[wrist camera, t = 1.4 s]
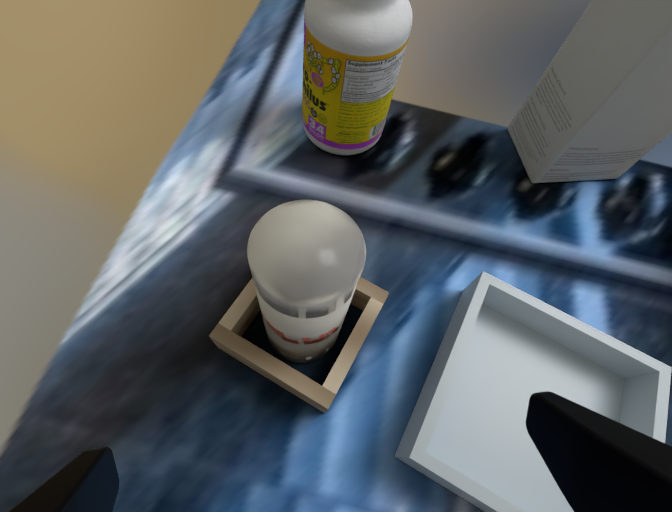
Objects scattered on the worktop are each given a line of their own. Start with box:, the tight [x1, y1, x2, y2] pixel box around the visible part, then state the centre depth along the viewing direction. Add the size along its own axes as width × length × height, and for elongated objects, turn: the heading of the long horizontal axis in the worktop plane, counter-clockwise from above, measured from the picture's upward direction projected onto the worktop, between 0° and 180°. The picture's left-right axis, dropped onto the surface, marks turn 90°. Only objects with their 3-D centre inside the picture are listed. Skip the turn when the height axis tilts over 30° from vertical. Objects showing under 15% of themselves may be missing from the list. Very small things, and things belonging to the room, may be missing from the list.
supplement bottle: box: [302, 0, 412, 155], centre depth 25 cm, size 7×7×13 cm
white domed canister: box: [247, 200, 366, 363], centre depth 18 cm, size 4×4×10 cm
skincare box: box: [508, 0, 672, 183], centre depth 25 cm, size 8×7×16 cm
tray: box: [394, 271, 672, 512], centre depth 20 cm, size 11×11×3 cm
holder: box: [209, 277, 389, 413], centre depth 21 cm, size 7×7×2 cm
